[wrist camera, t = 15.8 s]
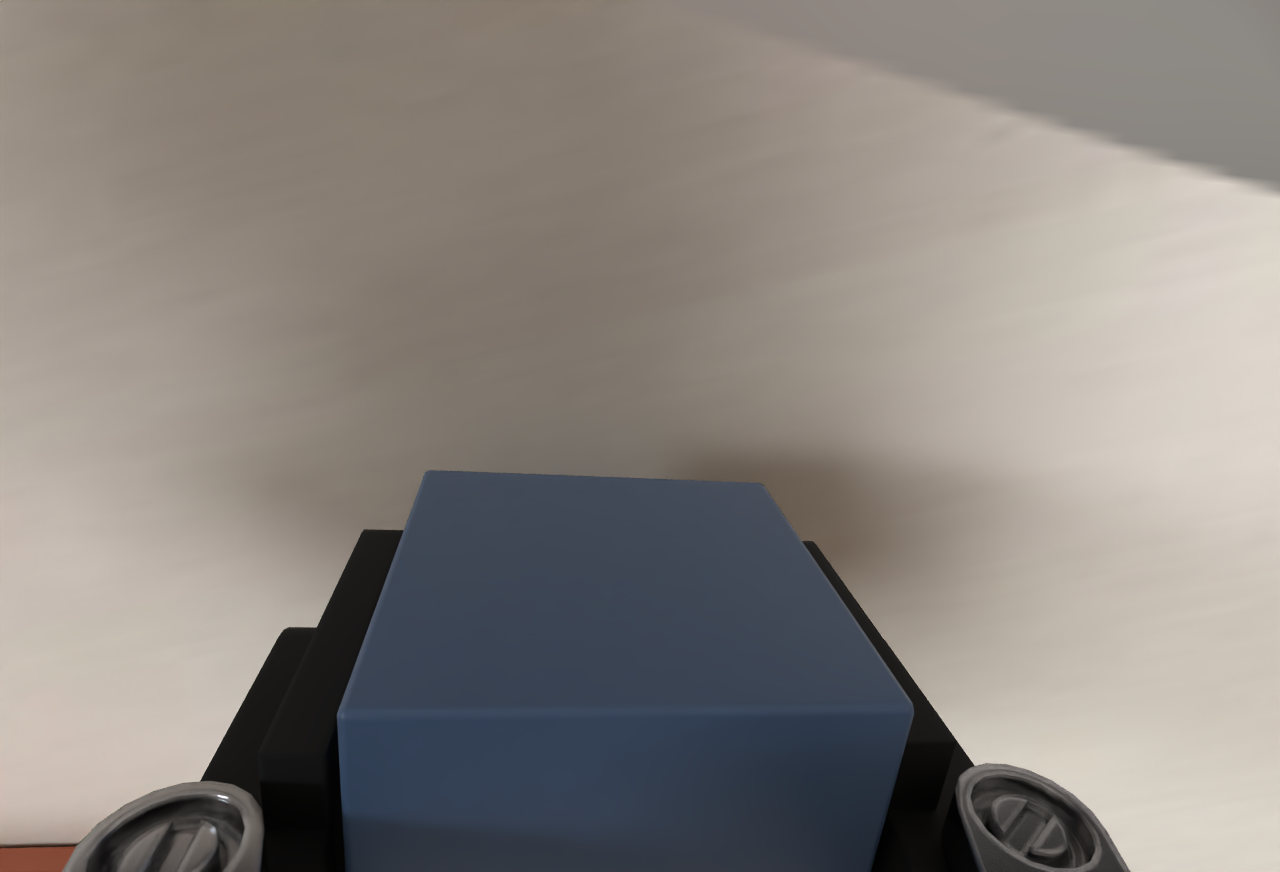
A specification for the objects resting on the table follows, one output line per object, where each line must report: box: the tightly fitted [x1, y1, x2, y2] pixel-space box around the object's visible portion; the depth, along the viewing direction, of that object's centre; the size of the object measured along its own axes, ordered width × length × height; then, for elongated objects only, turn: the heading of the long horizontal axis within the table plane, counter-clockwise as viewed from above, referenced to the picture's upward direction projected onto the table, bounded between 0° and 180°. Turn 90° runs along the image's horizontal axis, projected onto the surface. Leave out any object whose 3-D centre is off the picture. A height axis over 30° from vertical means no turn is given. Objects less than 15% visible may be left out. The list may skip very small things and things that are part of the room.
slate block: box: [337, 470, 914, 872], centre depth 8 cm, size 4×4×4 cm
